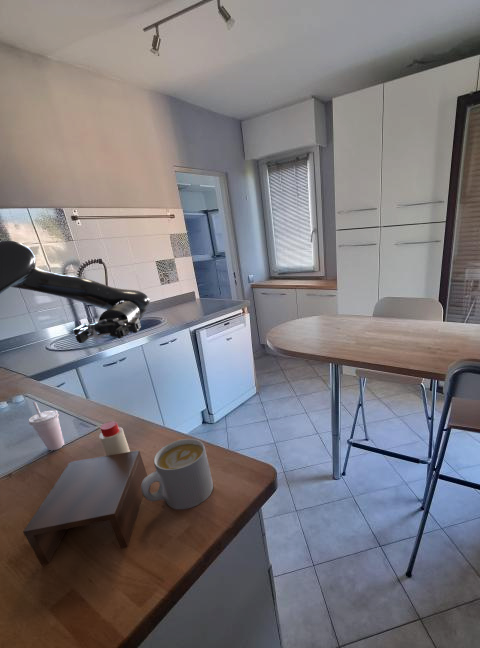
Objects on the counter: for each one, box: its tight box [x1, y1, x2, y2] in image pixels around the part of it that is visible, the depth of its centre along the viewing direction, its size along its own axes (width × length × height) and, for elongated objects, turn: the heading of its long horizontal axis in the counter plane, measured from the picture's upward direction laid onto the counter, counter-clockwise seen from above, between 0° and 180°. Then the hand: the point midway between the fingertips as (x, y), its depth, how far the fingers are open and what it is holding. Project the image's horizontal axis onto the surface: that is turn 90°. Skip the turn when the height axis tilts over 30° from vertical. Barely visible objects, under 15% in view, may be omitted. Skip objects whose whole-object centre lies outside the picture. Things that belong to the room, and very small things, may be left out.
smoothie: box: [28, 401, 65, 452], centre depth 88 cm, size 6×6×14 cm
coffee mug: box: [141, 438, 214, 510], centre depth 69 cm, size 13×10×10 cm
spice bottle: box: [99, 420, 131, 456], centre depth 78 cm, size 5×5×12 cm
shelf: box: [22, 450, 148, 566], centre depth 65 cm, size 14×18×8 cm
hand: (99, 336), depth 77 cm, fingers open, 8 cm apart
